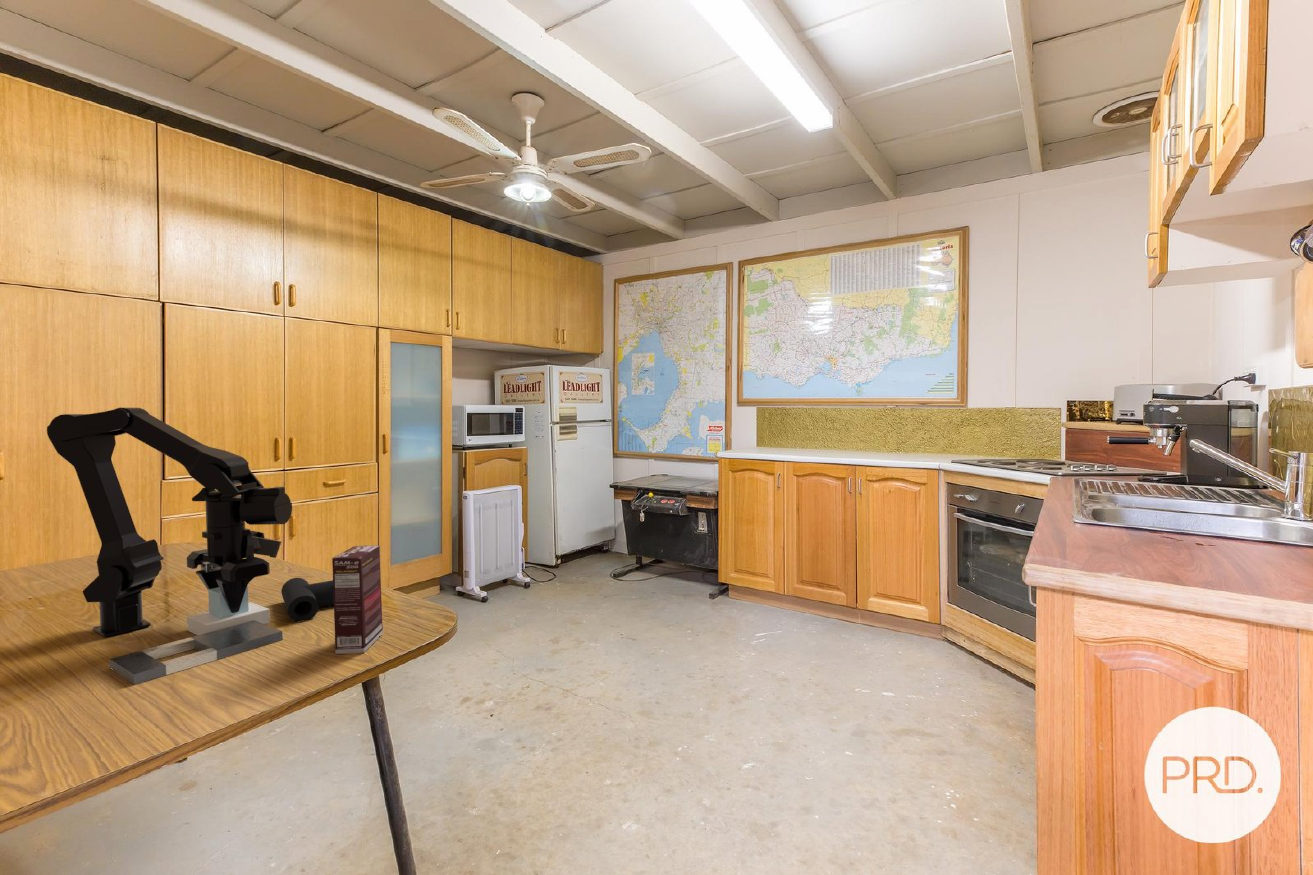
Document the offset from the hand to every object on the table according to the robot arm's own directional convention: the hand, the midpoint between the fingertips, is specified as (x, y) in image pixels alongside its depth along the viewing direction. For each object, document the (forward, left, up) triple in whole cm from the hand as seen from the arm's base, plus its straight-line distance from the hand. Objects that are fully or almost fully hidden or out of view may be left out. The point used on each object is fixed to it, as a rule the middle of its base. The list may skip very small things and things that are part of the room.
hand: (228, 610), depth 109 cm
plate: (+10, -8, -3) cm, 13 cm away
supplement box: (+28, +8, -3) cm, 29 cm away
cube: (0, 0, 0) cm, 0 cm away
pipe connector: (+3, +15, -4) cm, 15 cm away
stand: (0, 0, -3) cm, 3 cm away
